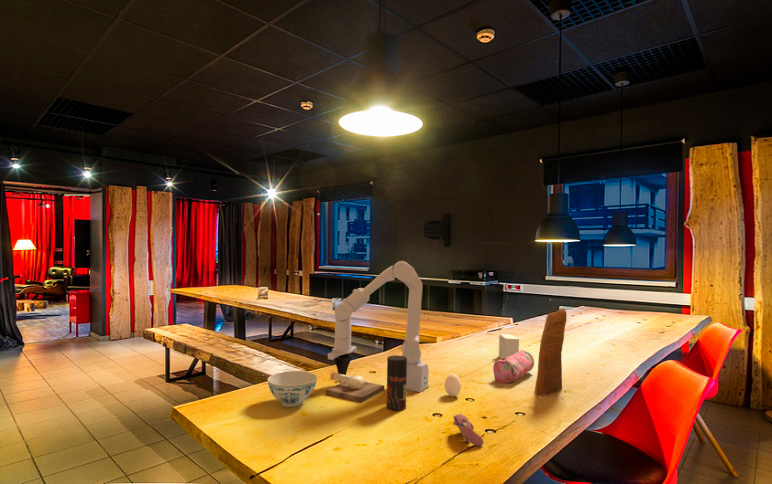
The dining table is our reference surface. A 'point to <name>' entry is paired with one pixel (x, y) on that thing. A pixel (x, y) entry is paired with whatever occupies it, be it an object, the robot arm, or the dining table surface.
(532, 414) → the dining table surface
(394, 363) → the deodorant
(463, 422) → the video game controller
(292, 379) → the chinaware
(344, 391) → the flat rectangular base
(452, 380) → the egg
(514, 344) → the skincare box
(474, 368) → the dining table surface
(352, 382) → the white joystick lever
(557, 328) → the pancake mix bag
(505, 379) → the pencil case
